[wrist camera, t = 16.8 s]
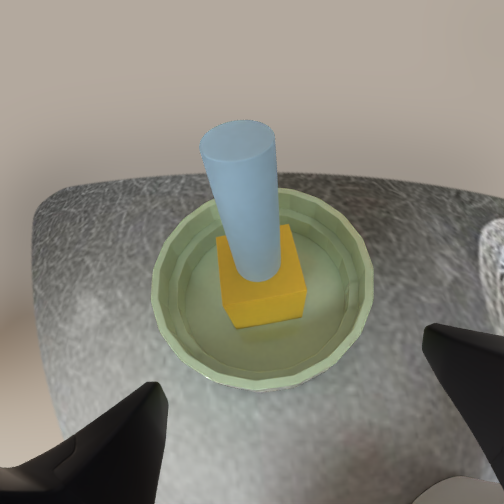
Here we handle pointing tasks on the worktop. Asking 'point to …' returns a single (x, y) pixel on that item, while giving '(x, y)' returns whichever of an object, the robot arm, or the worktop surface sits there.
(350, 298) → the bowl
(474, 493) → the mug
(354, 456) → the worktop surface
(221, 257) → the sponge wand
